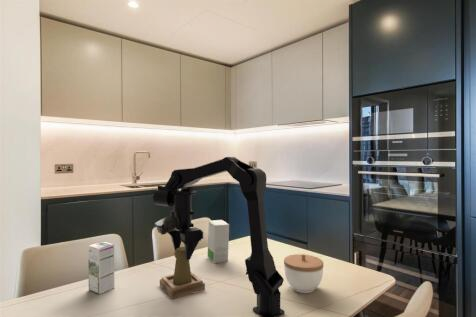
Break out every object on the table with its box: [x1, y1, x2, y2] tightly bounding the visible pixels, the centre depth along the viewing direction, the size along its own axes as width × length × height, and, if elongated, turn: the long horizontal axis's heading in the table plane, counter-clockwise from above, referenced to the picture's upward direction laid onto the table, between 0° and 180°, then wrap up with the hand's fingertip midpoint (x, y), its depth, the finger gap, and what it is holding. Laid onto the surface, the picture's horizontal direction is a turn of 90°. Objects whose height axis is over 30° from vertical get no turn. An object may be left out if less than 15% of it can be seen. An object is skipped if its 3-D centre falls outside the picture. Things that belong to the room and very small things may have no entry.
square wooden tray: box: [159, 271, 206, 300], centre depth 96 cm, size 11×11×3 cm
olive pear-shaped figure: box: [173, 246, 192, 285], centre depth 96 cm, size 6×6×11 cm
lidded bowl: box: [283, 253, 324, 294], centre depth 96 cm, size 13×13×11 cm
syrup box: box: [87, 241, 115, 295], centre depth 94 cm, size 6×6×14 cm
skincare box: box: [207, 219, 230, 264], centre depth 122 cm, size 8×7×16 cm
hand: (182, 255), depth 96 cm, fingers open, 9 cm apart
